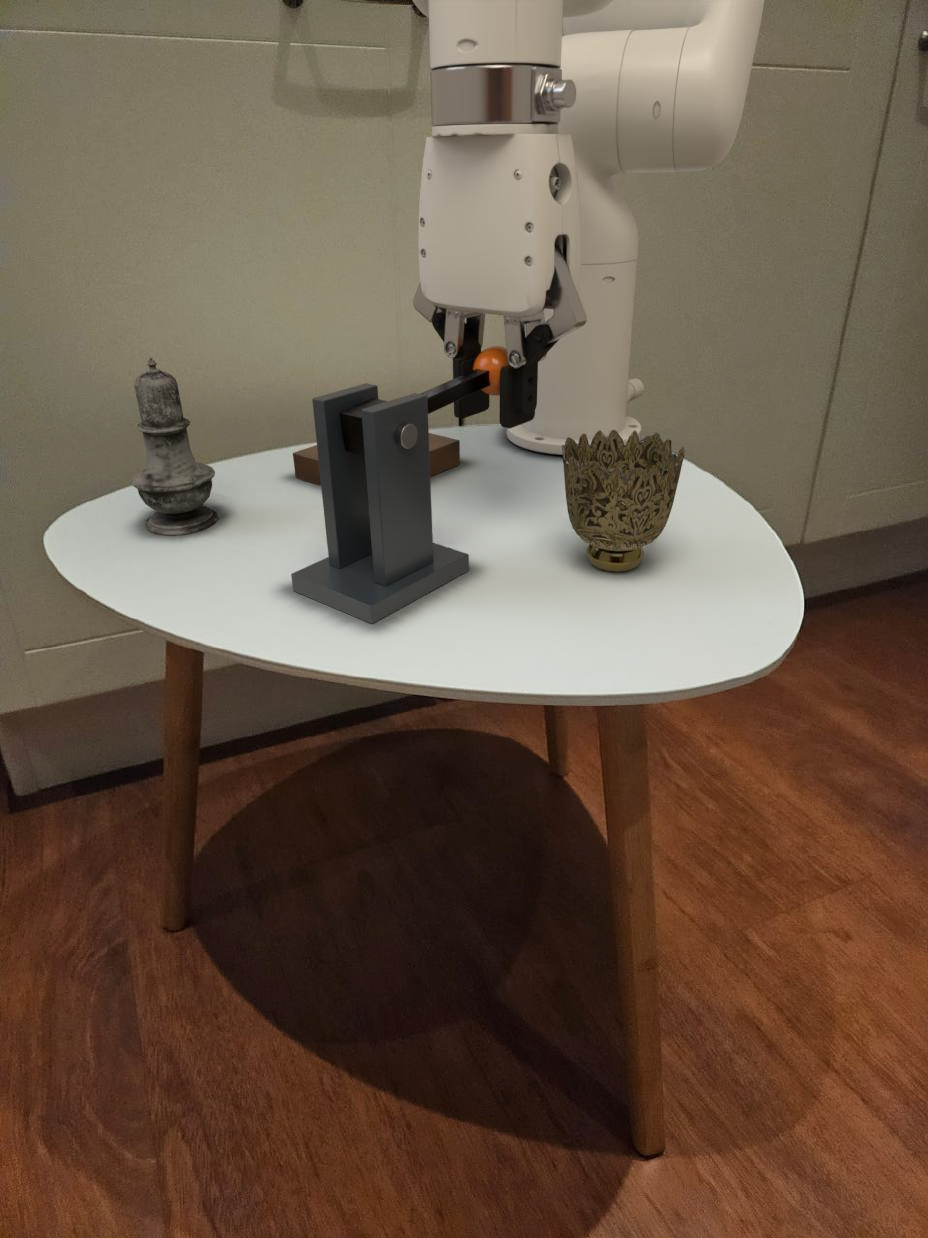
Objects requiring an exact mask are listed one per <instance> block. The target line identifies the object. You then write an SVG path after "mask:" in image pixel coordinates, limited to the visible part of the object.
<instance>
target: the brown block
mask: <svg viewBox="0 0 928 1238" xmlns="http://www.w3.org/2000/svg"><path fill="white" fill-rule="evenodd" d="M429 455H430V477H433V476H435V475H438V474H440V473H442V472H444V471H448V470H450V469H453V468H454V467H457V466H459V465H461V446H460V439H457V438H454V437H448V436H443V435H440V434H435V433H431V432H429ZM292 458H293V465H294V466H293V467H294V474H295V476H294V477H295V479H299V480H302V481H305V482H309V483H311V484H314V485H318V486H321V479H320V469H319V460H318V450H317V444H316V445H313V446H309V447H306V448H303V449H301V450H298V451H293V452H292Z"/></svg>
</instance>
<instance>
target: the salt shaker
mask: <svg viewBox="0 0 928 1238" xmlns="http://www.w3.org/2000/svg"><path fill="white" fill-rule="evenodd" d="M157 365H158V362H156V361H155V359H153V357H149V359H148V361H147V363H146V366H148V369H147V370H146V371H145V372H144V373H141V374H140V375H138V376H137V378H136V379H135V381H134V385H133V386H134V392H135V396H136V402H137V406H138V411H139V416H140V422H139V423H138V424H137V425H136V429H137V430H138V431H139V432H141V433H142V436H143V442H144V446H145V451H146V465H145V466H146V467H145V469H143V470H141V471H139V472H137V473H136V474H135V475H133V476H132V478H131V480H130V481H131V485H132V487H134V488H135V489H137V492H138V495H139V497H140V499H141V500H142V502H143V503H144V504H145V505H146V506H147V507H149V508H150V509H151V510H153V511H154V513H152V515H150V516H149V518H147V519H146V520H145V523H144V526H145V529H146V531H148V532H150V533H152V534H155V535H161V536H179V535H187V534H193V533H197V532H200V531H203V530H205V529H208V528H210V527H211V526H213V525H215V524H216V522H217V521H218V520H219V514H218V512H217V511H216V510H214V509H212V508H210V507H208V506H206V505H204V504H205V503H206V502H207V501H208V499H209V498H210V497H211V493H212V489H213V478H215V474H216V471H215V470H214V468H213V467H212V466H210V465H208V464H206V463H200V462H197V461H196V459H195V457H194V455H193V452H192V449H191V445H190V439H189V433H188V429H187V428H188V427H189V426H190V424H191V421H190V420H189V419H188V418H186V417H184V413H183V407H182V402H181V401H182V400H181V395H180V389H179V384H178V380H177V379H176V378H175V377H174V376H173V375H172V374H170V373H168V372H166V371H162V370H161V369H160V368H157Z"/></svg>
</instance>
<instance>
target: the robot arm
mask: <svg viewBox="0 0 928 1238" xmlns="http://www.w3.org/2000/svg"><path fill="white" fill-rule="evenodd" d="M412 2H413V4H414V5H415V7H416V8H417V9H418V11H420V12H421V13H422V15H424V16H425V17H427V18H428V35H429V37H428V38H429V41H428V42H429V70H430V74H429V75H430V76H429V77H430V110H431V113H430V116H431V136H426V138H425V146H424V152H423V159H422V167H421V177H420V185H419V186H420V188H419V200H418V201H419V202H418V203H419V204H418V227H417V228H418V232H417V245H418V247H417V248H418V252H417V253H418V254H417V255H418V271H419V274H418V275H419V283H418V286H417V289H416V292H415V294H414V297H413V299H412V305H413V308H414V309H415V310H416V311H417V312H418V314H419V315H421V316H422V317H423V318H424V319H425V320H426V321H428V322H429V323H431V324H432V327H433V328H434V331H435V332H436V333H437V335H438V336H439V337H440V339H441V341H442V342H443V351H444V354H445V355H446V356H447V357H448V358H450V359H452V379H455V378H457V377H459V376H461V375H464V374H466V373H468V372H470V371H473V365H474V362H475V360H476V358H477V356H478V355H479V354H480V353H481V352H482V348H483V345H484V335H485V334H484V333H485V321H486V314H487V315H493V316H494V315H496V316H503V323H504V337H505V348H506V349H507V360H508V363H509V365H507V366H503V367H501V370H500V395H499V425H500V426H501V427H502V428H504V429H505V431H506V437H507V439H508V440H509V441H510V442H512V444H514V445H516V446H517V447H520V448H522V449H525V450H529V451H532V452H536V453H541V454H548V455H556V456H563V454H562V445H565V441H566V439H567V438H568V437H569V438H572V439H573V440H574V441H575V442H576V443H577V444H579V439H580V436H581V435H582V434H583V433H585V434H586V435H587V439H588V443H589V442H590V443H589V445H590V444H591V441H592V439H593V437H594V435H595V434H596V433H597V432H598V431H599V430H600V431H602V433H603V434H604V435H605V437H606V436H609V434H610V432H611V431H612V430H616V431H617V432H618V434H619V435H620V437H621V438H622V439H623V441H624V445H626V443H627V441H628V438H629V436H630V435H631V433H632V432H633V431H634V430H636V431H637V434H638V436H639V440H641V436H642V424H641V423H640V422H639V421H638V420H637V419H636V418H634V417H632V416H630V415H628V414H627V408H628V404H629V403H630V402H631V401H634V400H636V399H638V398H640V397H641V396H643V394H644V393H645V384H644V382H643V381H642V380H641V379H640V378H636V377H635V378H631V379H629V375H630V361H631V348H632V336H633V335H632V334H633V324H634V323H633V322H634V308H635V295H636V284H637V271H638V270H637V269H638V268H637V267H638V258H639V257H638V256H639V242H640V241H639V239H640V237H639V230H638V226H637V221H636V220H635V217H634V214H633V213H632V210H631V209H630V207H629V205H628V204H627V202H626V201H625V199H624V197H623V196H622V195H621V193H620V191H619V190H618V188H617V187H616V185H615V184H614V182H613V180H612V176H614V175H626V174H633V173H635V174H639V173H640V174H641V173H643V174H644V173H645V174H647V173H649V174H650V173H652V174H653V173H659V174H660V173H691V172H693V173H694V172H701V171H706V170H709V169H711V168H714V167H716V166H718V165H719V164H720V163H721V162H723V161H724V160H725V158H726V157H727V156H728V154H729V153H730V152H731V149H732V148H733V145H734V142H735V140H736V137H737V135H738V132H739V129H740V125H741V122H742V116H743V112H744V109H745V103H746V98H747V93H748V89H749V83H750V79H751V73H752V69H753V63H754V58H755V53H756V48H757V43H758V39H759V34H760V29H761V25H762V18H763V14H764V13H763V12H764V5H765V0H412ZM465 319H466V321H465ZM489 408H490V395H489V394H487V393H485V392H483V391H482V390H479V391H477V392H475V393H473V394H470V395H468V396H466V397H464V398H462V399H460V400H458V401H455V402H453V415H454V417H455V418H458V419H466V418H468V417H471V416H474V415H477V414H481V413H483V412H486V411H488V410H489ZM606 438H607V437H606Z"/></svg>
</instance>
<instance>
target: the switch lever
mask: <svg viewBox="0 0 928 1238" xmlns="http://www.w3.org/2000/svg"><path fill="white" fill-rule="evenodd" d="M507 365H509V363H508V360H507V349H506V347H504V346H501V345H500V346H499V345H493V346H490V347H489V346H488V347H487V348H485V349H483V350H481V353H480V354H479V355H478V356H477V358H476V360H475V362H474V365H473V371H470V372H468V373H466V374H464V375H461V376H459V377H457V378H455V379H453V378H452V379H450V380H447V381H446V382H444V383H443V382H442V383H441V384H438V385H437V386H434V387H431V388H430V389H427V390H424V391H423V392H421V393H419V394H422V395H427V402H428V415H429V414H432V413H434V412H436V411H438V410H440V409H442V408H444V407H447V406H449V405H451V404H454V402H455V401H458V400H460V399H462V398H464V397H466V396H468V395H470V394H473V393H475V392H477V391H479V390H482V391H483V392H485V393H487V394H489V396H496V397H497V396H499V397H500V370H501V367H503V366H507ZM387 401H388V400H384V399H379V398H378V399H375V398H371V399H369V400H367V401H364V402H362V403H360V404H357V405H355V406H352V407H350V408H348V409H345V410H343V411H341V412H339V414H340V421H341V427H342V434H343V440H344V447H345V451H347V452H351V453H355V454H358V455H362V456H365V451H364V438H363V425H362V412H361V410H362V409H365V408H368V407H371V406H374V405H378V404H381V403H384V402H387Z"/></svg>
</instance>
